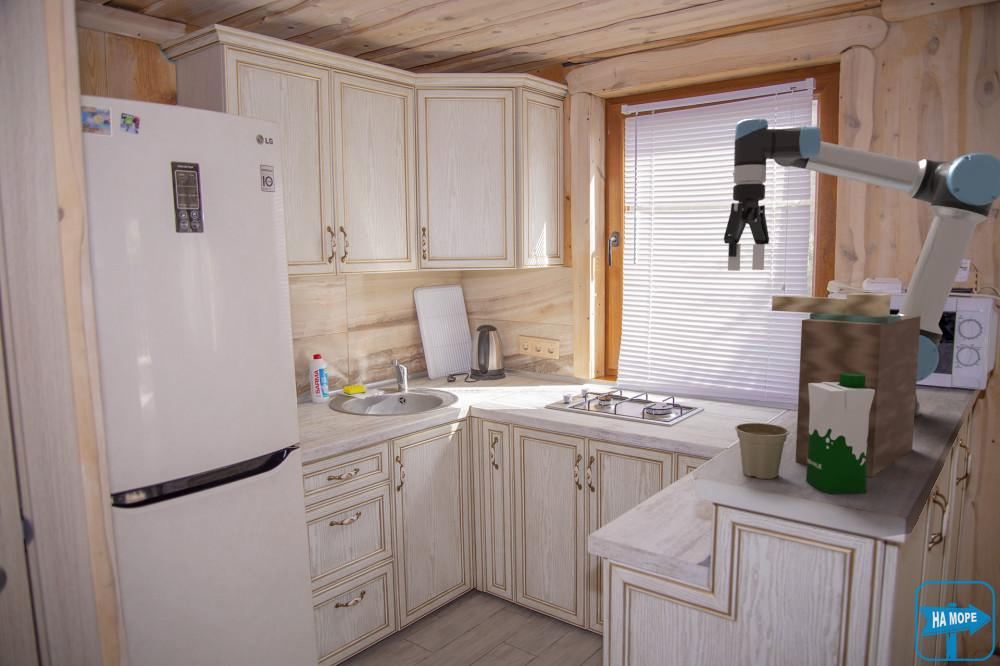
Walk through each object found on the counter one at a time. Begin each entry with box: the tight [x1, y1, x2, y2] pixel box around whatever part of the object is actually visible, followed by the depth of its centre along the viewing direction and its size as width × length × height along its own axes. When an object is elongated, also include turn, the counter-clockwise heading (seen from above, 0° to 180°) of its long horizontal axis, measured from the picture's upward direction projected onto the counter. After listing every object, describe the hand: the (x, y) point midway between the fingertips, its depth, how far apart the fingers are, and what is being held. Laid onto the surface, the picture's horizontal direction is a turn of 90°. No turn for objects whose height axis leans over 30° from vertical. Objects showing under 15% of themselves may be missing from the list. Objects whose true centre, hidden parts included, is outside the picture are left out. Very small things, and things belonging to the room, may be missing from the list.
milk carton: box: [805, 372, 875, 495], centre depth 124 cm, size 9×9×20 cm
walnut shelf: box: [795, 313, 921, 478], centre depth 143 cm, size 14×26×29 cm, turn 136°
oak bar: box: [771, 292, 892, 317], centre depth 141 cm, size 21×6×4 cm, turn 46°
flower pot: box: [734, 422, 790, 480], centre depth 131 cm, size 9×9×9 cm
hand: (746, 270), depth 178 cm, fingers open, 13 cm apart
